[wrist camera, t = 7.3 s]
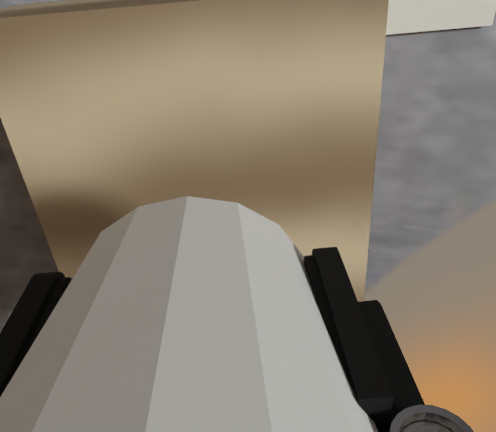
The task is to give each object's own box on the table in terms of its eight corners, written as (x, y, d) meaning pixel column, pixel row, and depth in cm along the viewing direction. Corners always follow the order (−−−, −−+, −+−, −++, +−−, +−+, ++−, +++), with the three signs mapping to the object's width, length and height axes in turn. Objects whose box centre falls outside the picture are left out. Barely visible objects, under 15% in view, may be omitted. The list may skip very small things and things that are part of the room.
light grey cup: (33, 356, 12) (-156, 770, 6) (83, 124, 9) (-217, 522, 3) (269, 405, 14) (307, 771, 8) (386, 225, 10) (615, 616, 4)
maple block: (18, 3, 16) (-37, 21, 13) (354, -26, 16) (390, -17, 13) (101, 268, 22) (80, 327, 19) (341, 246, 22) (363, 302, 19)
